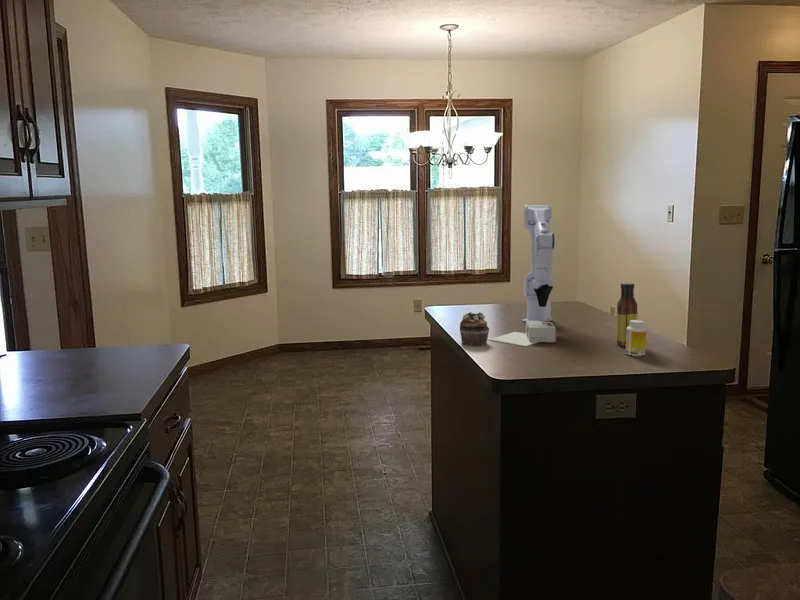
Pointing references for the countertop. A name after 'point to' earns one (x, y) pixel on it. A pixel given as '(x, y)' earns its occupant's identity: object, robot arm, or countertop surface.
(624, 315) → the sauce bottle
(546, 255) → the robot arm
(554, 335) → the ink box
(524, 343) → the mat
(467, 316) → the cupcake
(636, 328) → the supplement bottle
